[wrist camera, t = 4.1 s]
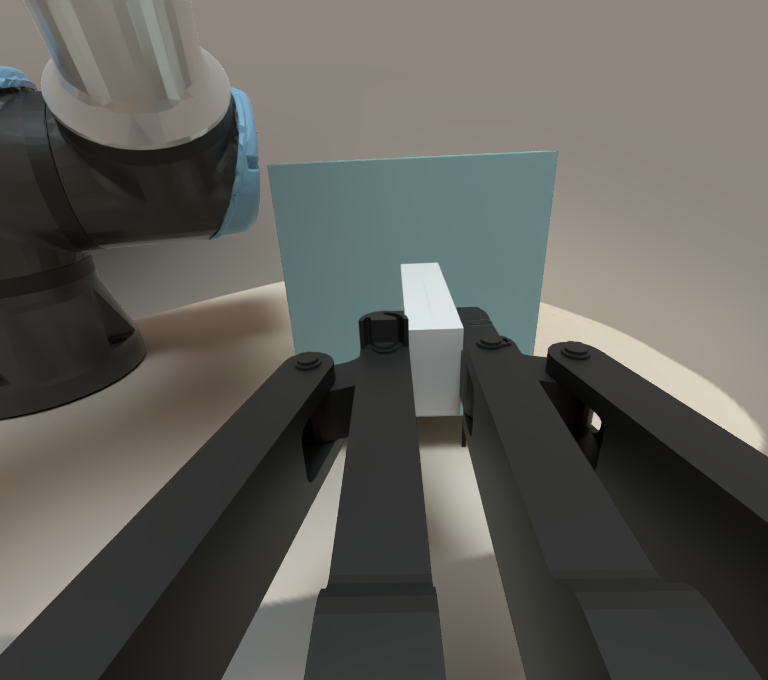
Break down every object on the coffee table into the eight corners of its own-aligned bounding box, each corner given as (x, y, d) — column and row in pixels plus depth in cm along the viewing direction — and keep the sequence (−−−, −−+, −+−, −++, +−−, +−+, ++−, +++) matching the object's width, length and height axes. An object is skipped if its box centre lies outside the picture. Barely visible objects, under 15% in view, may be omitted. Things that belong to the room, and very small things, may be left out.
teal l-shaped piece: (526, 413, 24) (558, 151, 18) (305, 420, 25) (267, 165, 19) (472, 305, 41) (479, 147, 35) (338, 310, 41) (323, 154, 35)
